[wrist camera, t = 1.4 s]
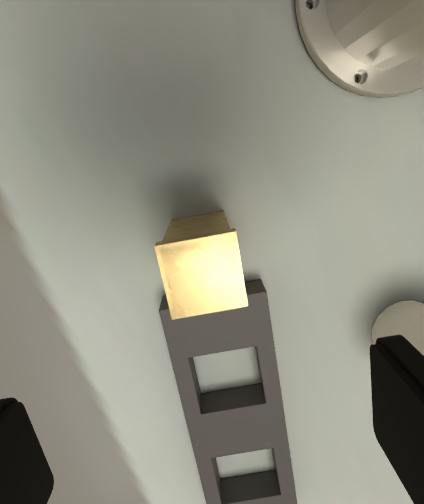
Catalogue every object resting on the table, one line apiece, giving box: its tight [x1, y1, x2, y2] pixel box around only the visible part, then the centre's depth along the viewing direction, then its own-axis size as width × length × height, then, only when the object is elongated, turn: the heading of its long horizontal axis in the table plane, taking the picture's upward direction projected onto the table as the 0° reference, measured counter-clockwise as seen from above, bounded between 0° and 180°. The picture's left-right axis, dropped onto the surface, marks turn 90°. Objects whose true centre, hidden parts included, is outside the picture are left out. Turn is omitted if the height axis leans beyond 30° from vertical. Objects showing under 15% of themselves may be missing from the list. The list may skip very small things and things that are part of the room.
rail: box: [159, 279, 297, 504], centre depth 30 cm, size 8×24×2 cm, turn 10°
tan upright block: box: [155, 211, 248, 320], centre depth 23 cm, size 4×4×8 cm
